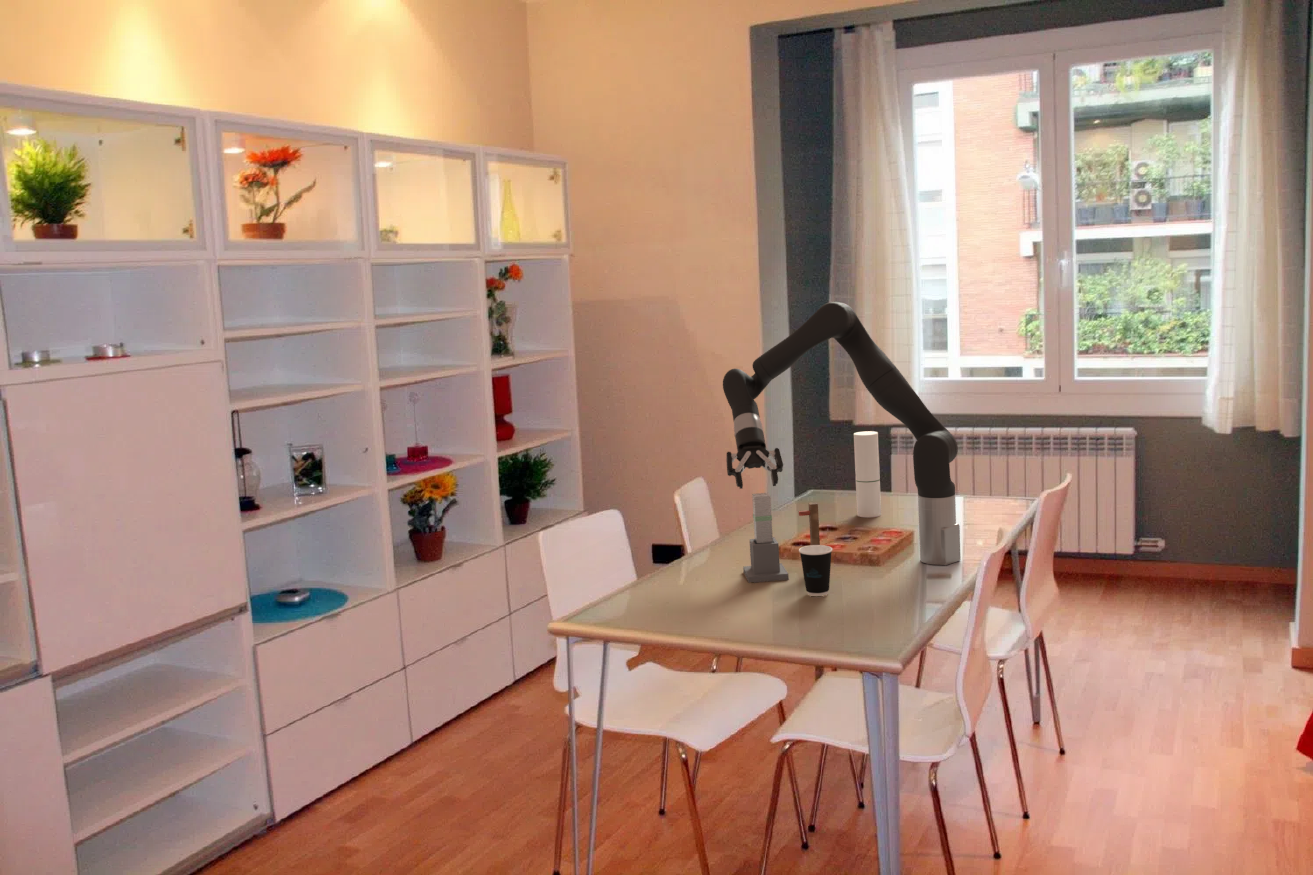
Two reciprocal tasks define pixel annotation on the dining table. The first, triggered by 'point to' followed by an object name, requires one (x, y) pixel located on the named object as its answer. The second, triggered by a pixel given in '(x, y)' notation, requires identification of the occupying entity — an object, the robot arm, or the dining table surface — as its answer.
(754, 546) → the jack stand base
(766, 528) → the steel column
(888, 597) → the dining table surface
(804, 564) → the dixie cup
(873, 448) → the cylindrical container
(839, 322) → the robot arm
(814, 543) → the height gauge
